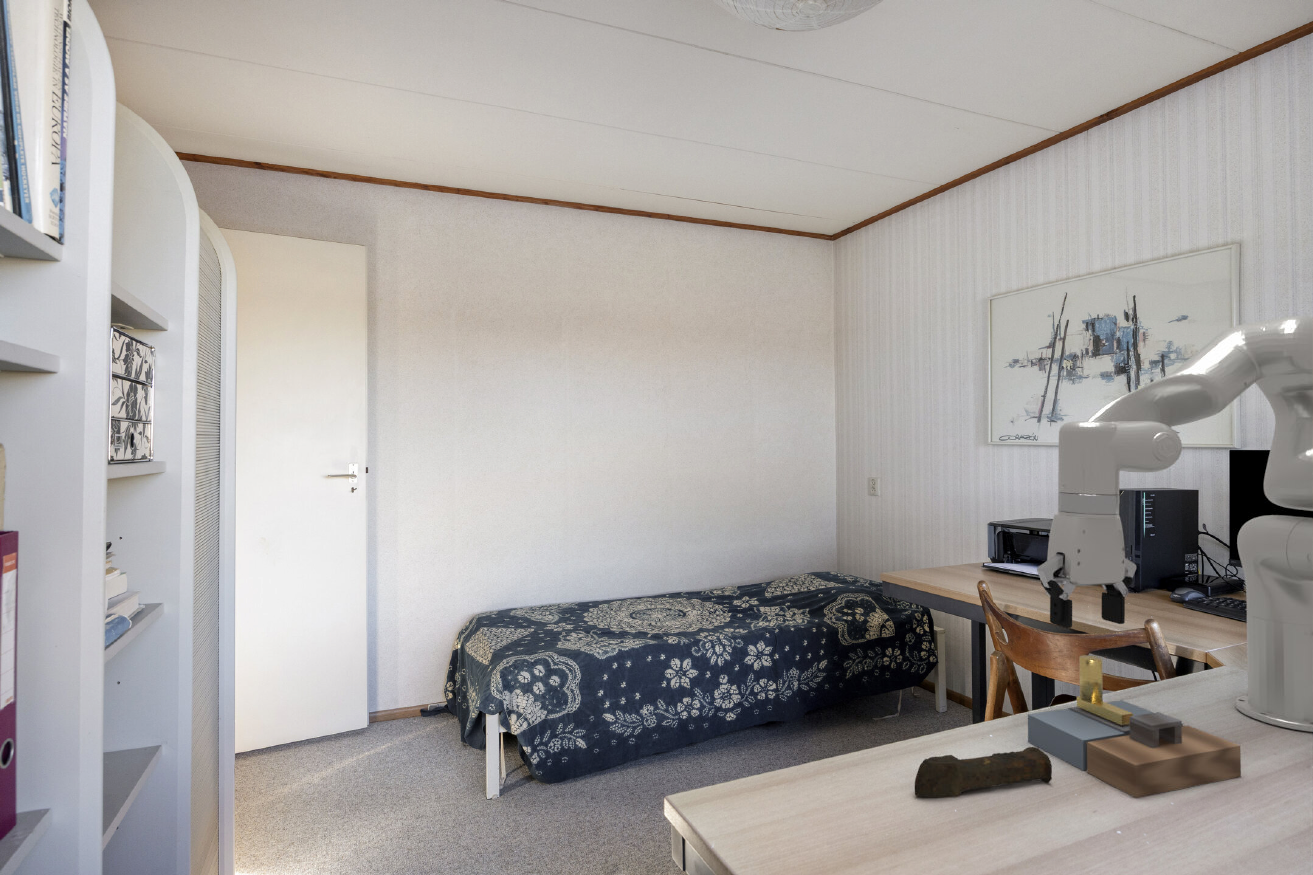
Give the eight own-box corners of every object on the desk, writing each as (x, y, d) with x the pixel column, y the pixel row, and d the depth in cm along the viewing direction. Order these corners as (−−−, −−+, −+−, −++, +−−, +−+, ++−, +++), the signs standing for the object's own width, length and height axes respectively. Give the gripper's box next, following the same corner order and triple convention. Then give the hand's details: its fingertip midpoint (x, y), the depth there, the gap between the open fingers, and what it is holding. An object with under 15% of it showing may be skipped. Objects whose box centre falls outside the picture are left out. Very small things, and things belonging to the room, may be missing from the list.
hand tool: (1030, 771, 89) (1029, 736, 89) (1054, 786, 85) (1053, 749, 86) (902, 788, 85) (902, 751, 85) (921, 805, 81) (921, 766, 81)
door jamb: (1187, 754, 94) (1187, 704, 94) (1240, 776, 87) (1240, 723, 87) (1087, 772, 88) (1086, 719, 89) (1135, 797, 82) (1135, 741, 82)
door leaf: (1122, 726, 103) (1122, 698, 103) (1183, 752, 94) (1183, 721, 94) (1028, 741, 98) (1027, 711, 98) (1083, 770, 89) (1082, 737, 89)
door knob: (1089, 704, 100) (1088, 654, 100) (1135, 722, 93) (1134, 669, 93) (1074, 706, 99) (1074, 656, 99) (1119, 725, 92) (1118, 671, 92)
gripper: (1109, 503, 104) (1108, 614, 104) (1019, 504, 99) (1018, 620, 99) (1158, 507, 97) (1157, 626, 97) (1063, 509, 92) (1062, 634, 92)
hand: (1087, 623), depth 98 cm, fingers open, 9 cm apart
